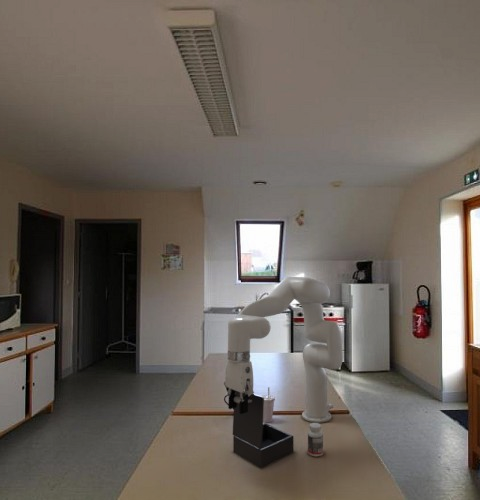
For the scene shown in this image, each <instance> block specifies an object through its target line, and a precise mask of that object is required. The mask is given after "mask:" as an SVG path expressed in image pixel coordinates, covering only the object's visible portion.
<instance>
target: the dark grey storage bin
mask: <svg viewBox="0 0 480 500" xmlns="http://www.w3.org/2000/svg"><path fill="white" fill-rule="evenodd" d="M232 436H233V440H232V442H233V443H232V445H233V446H232V447H233V449H232V450H233V452H232V453H233V454H234V455H235V454H236V455H237V456H239V457H241V458H242V459H244V460H246V461H248V462H249V463H251V464H253V465H254V466H256V467H258V468H259V469H263V468H265V467H267V466H269V465H271V464H273V463H275V462H277V461H279V460H281V459H283V458H285V457H287V456H289V455H291V454H293V453H294V452H295V451H294V435H293V434H290V433H288V432H286V431H285V430H281V429H279V428H277V427H275V426H273V425H270V424H268V423H267V422H264V423H263V435H262V449H259V448H257V447H255V446H253V445H251V444H249V443H247V442H245V441H244V440H242V439H240V438H238V437H236V436H234V435H232Z"/></svg>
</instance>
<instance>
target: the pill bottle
mask: <svg viewBox="0 0 480 500" xmlns="http://www.w3.org/2000/svg"><path fill="white" fill-rule="evenodd" d="M307 453H308V454H309V455H310V456H312V457H321V456H323V454H324V432H323V431H322V425H321V423H315V422H310V424H309V430H308V431H307Z"/></svg>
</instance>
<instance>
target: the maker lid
mask: <svg viewBox="0 0 480 500" xmlns="http://www.w3.org/2000/svg"><path fill="white" fill-rule="evenodd" d="M236 395H237V396H236V397H234V402H237V407H236V408H234V410H233V415H232V416H233V417H232V418H233V419H232V436H236V437H238V438H240V439H242V440H244V441H245V442H247V443H249V444H251V445H253V446H255V447H257V448H259V449H262V435H263V424H264V421H263V411H264V397H262V396H263V395H259V394H256V393H254V394H253V395H252V396H251V397H250V398H249V400H248V412H246V413H243V414H240V413H239V403H240V401H241V398H240V392H238V391H236ZM243 395H244V396H245V393H243Z"/></svg>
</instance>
